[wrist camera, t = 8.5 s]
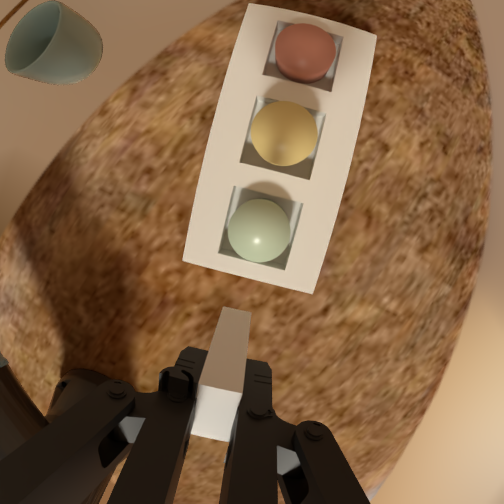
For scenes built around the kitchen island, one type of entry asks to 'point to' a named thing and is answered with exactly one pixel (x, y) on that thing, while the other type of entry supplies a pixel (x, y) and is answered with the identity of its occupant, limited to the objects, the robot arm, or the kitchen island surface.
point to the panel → (272, 176)
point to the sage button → (259, 230)
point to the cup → (53, 45)
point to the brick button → (304, 53)
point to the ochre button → (284, 133)
